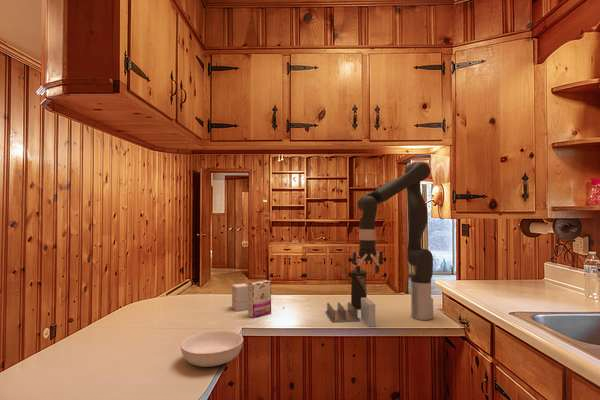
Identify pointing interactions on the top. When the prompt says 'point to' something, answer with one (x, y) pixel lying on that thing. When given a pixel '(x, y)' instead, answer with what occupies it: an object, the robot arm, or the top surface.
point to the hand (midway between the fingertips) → (367, 273)
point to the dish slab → (368, 312)
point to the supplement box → (240, 297)
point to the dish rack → (342, 313)
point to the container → (358, 287)
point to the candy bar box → (259, 298)
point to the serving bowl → (211, 347)
